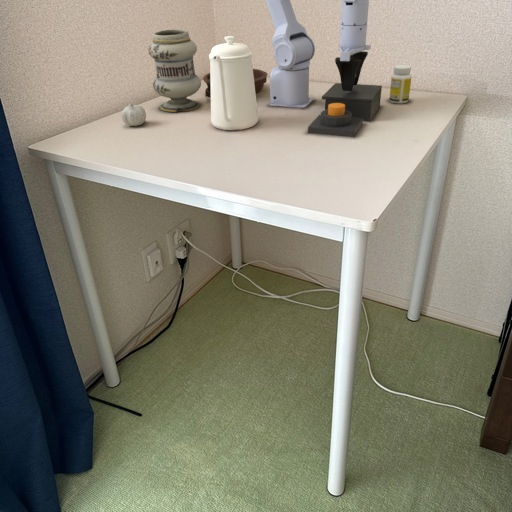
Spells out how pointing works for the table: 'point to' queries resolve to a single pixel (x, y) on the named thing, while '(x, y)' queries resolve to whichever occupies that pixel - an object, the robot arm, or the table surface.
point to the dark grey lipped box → (359, 107)
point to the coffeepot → (232, 86)
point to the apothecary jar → (175, 69)
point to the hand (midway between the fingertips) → (349, 87)
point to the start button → (336, 109)
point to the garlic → (133, 115)
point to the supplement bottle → (400, 84)
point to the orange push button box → (335, 124)
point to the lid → (353, 93)
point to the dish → (258, 81)
